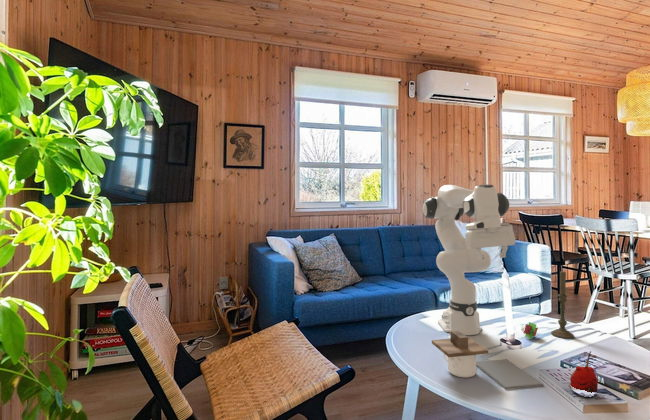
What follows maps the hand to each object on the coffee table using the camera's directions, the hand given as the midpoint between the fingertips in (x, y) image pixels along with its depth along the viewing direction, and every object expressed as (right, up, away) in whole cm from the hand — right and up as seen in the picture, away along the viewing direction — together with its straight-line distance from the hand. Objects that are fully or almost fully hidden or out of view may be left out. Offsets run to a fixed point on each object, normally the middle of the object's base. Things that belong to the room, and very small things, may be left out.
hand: (492, 258), depth 153 cm
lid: (-18, -31, -14) cm, 38 cm away
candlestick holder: (+42, -38, +23) cm, 61 cm away
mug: (-18, -40, -13) cm, 46 cm away
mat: (-2, -40, -15) cm, 43 cm away
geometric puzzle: (+26, -39, +20) cm, 51 cm away
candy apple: (+17, -40, -30) cm, 53 cm away
